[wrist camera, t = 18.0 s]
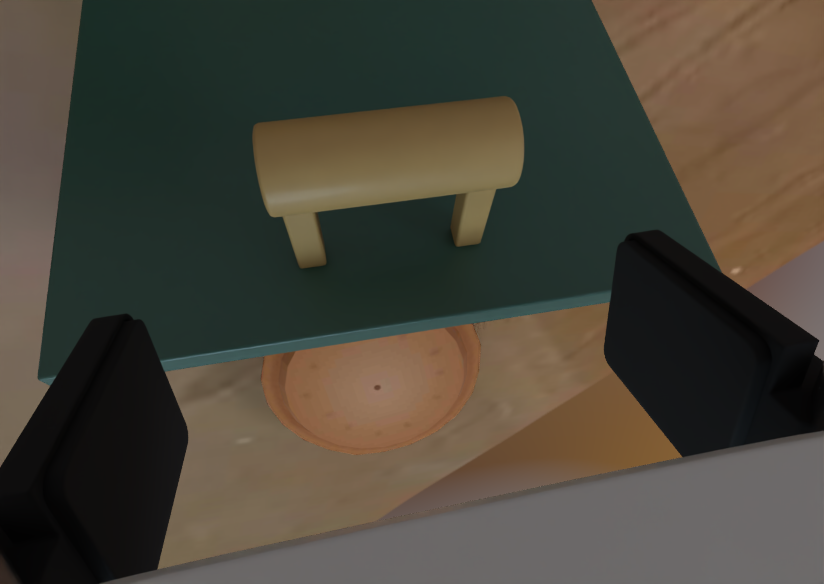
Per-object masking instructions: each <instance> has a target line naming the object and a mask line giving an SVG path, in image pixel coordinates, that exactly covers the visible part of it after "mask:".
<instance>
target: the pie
mask: <svg viewBox="0 0 824 584" xmlns="http://www.w3.org/2000/svg"><path fill="white" fill-rule="evenodd" d="M480 350H481V344H480V341H479V339H478V336H477V334H476V331H475V329H474V327H473V324H466V325H460V326H453V327H447V328H440V329H434V330H428V331H421V332H415V333H408V334H402V335H395V336H389V337H383V338H376V339H370V340H363V341H357V342H351V343H344V344H338V345H331V346H325V347H319V348H312V349H306V350H299V351H293V352H286V353H280V354H274V355H267V356H264V361H263V368H262V374H261V382H262V385H263V389H264V393H265V397H266V401H267V404H268V405H269V407H270V408H271V409H272V411H273V412H274V413H275V415H276V416H277V417H278V419H279V420H280V421H281V423H282V424H283V425H284V426H286V427H287V428H288V429H290V430H291V431H293V432H294V433H295V434H297V435H298V436H299V437H301V438H302V439H303V440H306V441H308V442H311V443H313V444H316V445H318V446H321V447H323V448H326V449H329V450H333V451H338V452H343V453H348V454H353V455H362V454H370V453H378V452H386V451H389V450H393V449H396V448H400V447H403V446H407V445H410V444H413V443H415V442H417V441H419V440H421V439H423V438H425V437H427V436H429V435H431V434H433V433H435V432H437V431H438V430H439V429H440V428H442V427H443V426H444V425H445V424H447V423H448V422H449V421H450V420H451V419H453V418H454V417H455V416H456V415H458V413H459V412H460V410H461V409H462V407H463V406H464V405H465V403H466V402H467V400H468V399H469V398H470V396H471V395H472V393H473V390H474V386H475V383H476V379H477V376H478V372H479V365H480Z"/></svg>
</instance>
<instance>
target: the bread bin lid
mask: <svg viewBox="0 0 824 584" xmlns="http://www.w3.org/2000/svg"><path fill="white" fill-rule="evenodd" d="M657 229H658V230H660V231H662V232H663V233H665V234H666V235H668V236H669V237H671V238H672V239H674V240H675V241H676V242H678V243H679V244H681V245H682V246H684V247H685V248H687V249H688V250H689V251H691V252H692V253H694V254H695V255H697V256H698V257H700V258H701V259H702V260H704V261H705V262H707V263H708V264H710V265H711V266H713V267H714V268H715V269H717V270H718V271H720V272H721V270H720V268H719V266H718V264H717V261H716V259H715V257H714V255H713V253H712V251H711V249H710V247H709V245H708V243H707V241H706V238H705V236H704V234H703V232H702V230H701V228H700V226H699V224H698V222H697V220H696V218H695V215H694V213H693V211H692V209H691V207H690V205H689V203H688V201H687V199H686V197H685V195H684V192H683V190H682V188H681V186H680V184H679V182H678V180H677V178H676V176H675V174H674V172H673V169H672V167H671V165H670V163H669V161H668V159H667V157H666V155H665V153H664V151H663V149H662V146H661V144H660V142H659V140H658V138H657V136H656V134H655V132H654V130H653V128H652V126H651V123H650V121H649V119H648V117H647V115H646V113H645V111H644V109H643V107H642V105H641V103H640V100H639V98H638V96H637V94H636V92H635V90H634V88H633V86H632V84H631V82H630V80H629V78H628V75H627V73H626V71H625V69H624V67H623V65H622V63H621V61H620V59H619V57H618V55H617V52H616V50H615V48H614V46H613V44H612V42H611V40H610V38H609V36H608V34H607V32H606V29H605V27H604V25H603V23H602V21H601V19H600V17H599V15H598V13H597V11H596V9H595V6H594V4H593V2H592V0H83V2H82V10H81V19H80V27H79V35H78V44H77V52H76V60H75V69H74V77H73V85H72V94H71V102H70V110H69V119H68V127H67V135H66V144H65V152H64V161H63V169H62V177H61V186H60V194H59V202H58V211H57V219H56V227H55V236H54V244H53V252H52V261H51V269H50V277H49V286H48V294H47V302H46V311H45V319H44V327H43V336H42V344H41V353H40V361H39V369H38V380H39V381H42V382H44V383H46V384H48V385H50V386H51V384H52V383H53V381H54V379H55V378H56V376H57V375H58V373H59V371H60V370H61V368H62V366H63V365H64V363H65V362H66V360H67V358H68V357H69V355H70V353H71V352H72V350H73V349H74V347H75V345H76V344H77V342H78V340H79V339H80V337H81V336H82V334H83V332H84V331H85V329H86V327H87V326H88V324H89V323H90V321H91V320H92V319H94V318H100V317H106V316H113V315H119V314H125V313H127V314H129V315H130V316H131V317H132V318H133V319H134V320H137V319H140V320H142V321H143V322H144V324H145V326H146V328H147V330H148V333H149V335H150V337H151V340H152V342H153V345H154V347H155V350H156V352H157V355H158V357H159V359H160V362H161V364H162V367H163V369H164V372H165V371H171V370H177V369H184V368H190V367H197V366H203V365H209V364H216V363H222V362H229V361H235V360H242V359H248V358H254V357H261V356H267V355H274V354H280V353H286V352H293V351H299V350H306V349H312V348H319V347H325V346H331V345H338V344H344V343H351V342H357V341H363V340H370V339H376V338H383V337H389V336H395V335H402V334H408V333H415V332H421V331H428V330H434V329H440V328H447V327H453V326H460V325H466V324H472V323H479V322H485V321H492V320H498V319H504V318H511V317H517V316H524V315H530V314H537V313H543V312H549V311H556V310H562V309H569V308H575V307H581V306H588V305H594V304H601V303H607V302H610V298H611V290H612V282H613V275H614V267H615V260H616V252H617V247H618V245H619V243H621V242H624V240H625V238H626V236H627V235H629V234H631V233H637V232H643V231H650V230H657ZM721 273H722V272H721Z"/></svg>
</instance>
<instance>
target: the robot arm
mask: <svg viewBox="0 0 824 584" xmlns="http://www.w3.org/2000/svg"><path fill="white" fill-rule="evenodd" d="M818 342H819V340H818V339H817V338H815V337H814V336H812V335H811V334H809V333H808V332H806V331H805V330H804V329H802V328H801V327H799V326H798V325H796V324H795V323H793V322H792V321H791V320H789V319H788V318H786V317H784V316H783V315H782V314H780V313H779V312H778V311H776V310H775V309H773V308H772V307H770V306H769V305H767V304H766V303H765V302H763V301H762V300H760V299H759V298H757V297H756V296H754V295H753V294H752V293H750V292H749V291H747V290H746V289H744V288H743V287H741V286H740V285H739V284H737V283H736V282H734V281H733V280H731V279H730V278H728V277H727V276H726V275H724V274H723V273H721V272H720V271H718V270H717V269H715V268H714V267H713V266H711V265H710V264H708V263H707V262H705V261H704V260H702V259H701V258H700V257H698V256H697V255H695V254H694V253H692V252H691V251H689V250H688V249H687V248H685V247H684V246H682V245H681V244H679V243H678V242H676V241H675V240H674V239H672V238H671V237H669V236H668V235H666V234H665V233H663V232H662V231H660V230H658V229H657V230H650V231H643V232H637V233H631V234H629V235H627V236H626V238H625V240H624V242H621V243H619V245H618V247H617V252H616V260H615V267H614V275H613V282H612V290H611V298H610V305H609V313H608V321H607V328H606V336H605V343H604V355H605V358H606V361H607V363H608V365H609V366H610V367H611V368H612V370H613V371H614V372H615V373H616V375H617V376H618V377H619V378H620V380H621V381H622V382H623V383H624V385H625V386H626V387H627V388H628V389H629V391H630V392H631V393H632V395H633V396H634V397H635V398H636V399H637V401H638V402H639V403H640V405H641V406H642V407H643V408H644V409H645V411H646V412H647V413H648V414H649V416H650V417H651V418H652V419H653V421H654V422H655V423H656V424H657V426H658V427H659V428H660V429H661V430H662V432H663V433H664V434H665V436H666V437H667V438H668V439H669V441H670V442H671V443H672V444H673V446H674V447H675V448H676V449H677V451H678V452H679V453H680V454H681V456H682V458H677V459H672V460H667V461H663V462H657V463H652V464H648V465H643V466H638V467H633V468H628V469H623V470H618V471H614V472H608V473H604V474H599V475H594V476H589V477H584V478H580V479H574V480H570V481H565V482H560V483H555V484H551V485H546V486H541V487H537V488H531V489H527V490H523V491H517V492H512V493H508V494H503V495H499V496H493V497H489V498H484V499H479V500H475V501H470V502H465V503H460V504H456V505H451V506H446V507H442V508H437V509H432V510H427V511H423V512H418V513H413V514H408V515H404V516H399V517H394V518H390V519H385V520H380V521H376V522H371V523H366V524H362V525H357V526H353V527H348V528H343V529H339V530H334V531H330V532H325V533H320V534H316V535H311V536H306V537H302V538H297V539H293V540H288V541H283V542H279V543H274V544H270V545H265V546H260V547H256V548H251V549H247V550H242V551H237V552H233V553H228V554H223V555H219V556H215V557H210V558H206V559H202V560H197V561H193V562H188V563H184V564H180V565H175V566H171V567H167V568H162V569H158V570H157V568H158V564H159V560H160V556H161V552H162V548H163V543H164V539H165V535H166V531H167V527H168V523H169V519H170V515H171V510H172V506H173V502H174V498H175V494H176V490H177V486H178V482H179V478H180V473H181V469H182V465H183V461H184V457H185V453H186V449H187V445H188V430H187V426H186V423H185V420H184V418H183V415H182V413H181V410H180V408H179V406H178V403H177V401H176V398H175V396H174V393H173V391H172V389H171V386H170V384H169V381H168V379H167V376H166V374H165V372H164V369H163V367H162V364H161V362H160V359H159V357H158V355H157V352H156V350H155V347H154V345H153V342H152V340H151V337H150V335H149V333H148V330H147V328H146V326H145V324H144V322H143V321H142V320H140V319H137V320H134V319H133V318H132V317H131V316H130V315H129V314H127V313H125V314H119V315H113V316H106V317H100V318H94V319H92V320H91V321H90V323H89V324H88V326H87V327H86V329H85V331H84V332H83V334H82V336H81V337H80V339H79V340H78V342H77V344H76V345H75V347H74V349H73V350H72V352H71V353H70V355H69V357H68V358H67V360H66V362H65V363H64V365H63V366H62V368H61V370H60V371H59V373H58V375H57V376H56V378H55V379H54V381H53V383H52V384H51V386H50V388H49V389H48V391H47V392H46V394H45V396H44V397H43V399H42V400H41V402H40V404H39V405H38V407H37V409H36V410H35V412H34V413H33V415H32V417H31V418H30V420H29V422H28V423H27V425H26V426H25V428H24V430H23V431H22V433H21V435H20V436H19V438H18V439H17V441H16V443H15V444H14V446H13V448H12V449H11V451H10V452H9V454H8V456H7V457H6V459H5V461H4V462H3V464H2V465H1V467H0V584H824V361H822V360H821V359H819V358H818V357H817V356H815V355H814V352H815V350H816V347H817V345H818Z"/></svg>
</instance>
